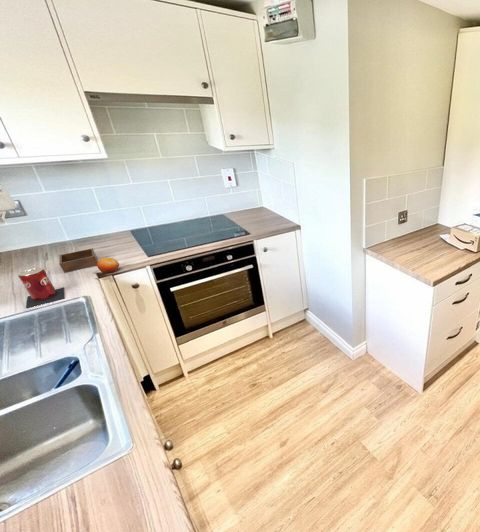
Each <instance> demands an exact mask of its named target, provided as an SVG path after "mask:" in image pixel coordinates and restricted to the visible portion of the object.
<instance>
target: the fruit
mask: <svg viewBox="0 0 480 532" xmlns="http://www.w3.org/2000/svg"><path fill="white" fill-rule="evenodd" d="M119 267H120V263H119V261H118V260H117V259H115V258H113V257H109V256H106V257H100V258H98V262H97V266H96V268H97V269H98V271H100V272H101V273H100V275H102V274H103V273H105V274H110V273H115V272H116V271H117V270H118V269H119Z"/></svg>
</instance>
